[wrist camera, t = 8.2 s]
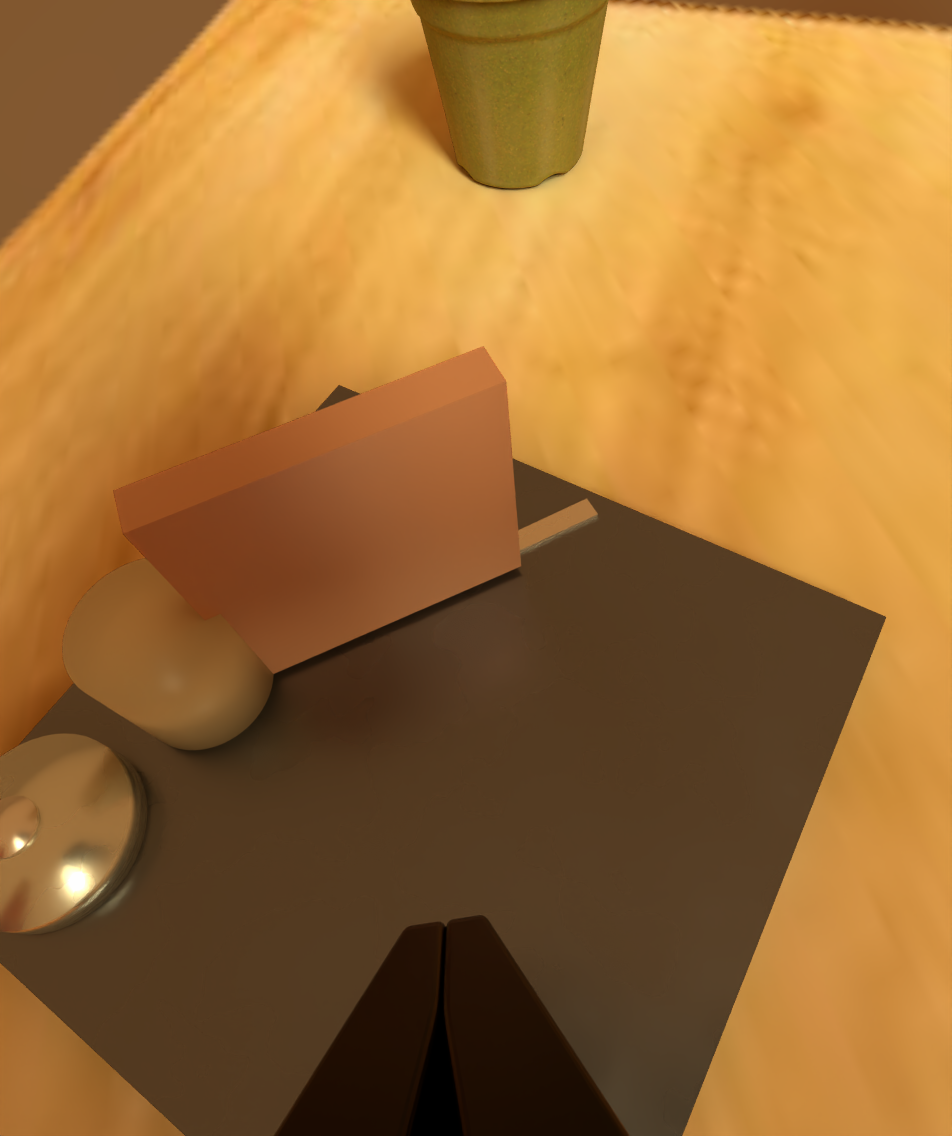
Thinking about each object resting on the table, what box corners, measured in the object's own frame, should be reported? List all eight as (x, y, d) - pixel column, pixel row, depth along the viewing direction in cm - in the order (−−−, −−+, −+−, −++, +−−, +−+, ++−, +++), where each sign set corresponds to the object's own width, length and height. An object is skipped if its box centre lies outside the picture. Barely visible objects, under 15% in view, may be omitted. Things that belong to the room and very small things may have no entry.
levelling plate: (873, 631, 22) (902, 598, 20) (548, 1446, 14) (547, 1513, 13) (345, 403, 29) (331, 362, 27) (-69, 878, 21) (-130, 867, 19)
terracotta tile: (155, 773, 21) (-48, 663, 14) (129, 654, 23) (-59, 505, 16) (541, 602, 22) (534, 425, 15) (486, 504, 24) (458, 308, 17)
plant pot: (449, 96, 39) (424, -117, 31) (630, 102, 37) (648, -123, 30) (401, 207, 35) (358, -10, 27) (602, 220, 33) (616, -9, 25)
